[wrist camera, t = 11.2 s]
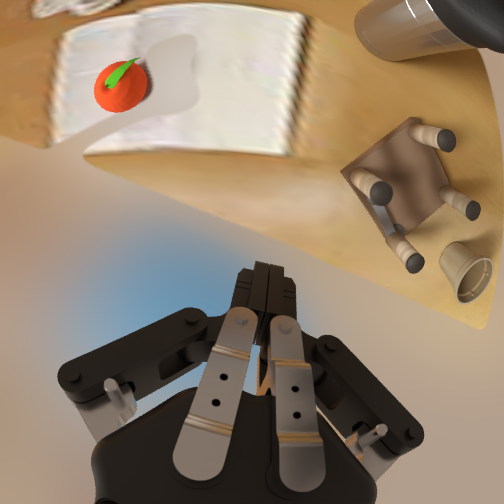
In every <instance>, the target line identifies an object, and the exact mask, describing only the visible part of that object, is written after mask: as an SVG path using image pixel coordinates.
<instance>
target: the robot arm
mask: <svg viewBox="0 0 504 504" xmlns="http://www.w3.org/2000/svg"><path fill="white" fill-rule="evenodd" d="M355 29H356V33H357V35H358V37H359V39H360V41H361V42H362V44H363V45H364V46H365V47H366V48H367V49H368V50H369V51H370V52H371V53H372V54H374V55H375V56H377V57H379V58H381V59H384V60H387V61H401V60H406V59H410V58H416V57H421V56H426V55H431V54H437V53H444V52H451V51H458V50H466V49H476V48H488V49H490V50H493V51H495V52H499V53H503V54H504V0H373V1H371V2H370V3H369V4H368V5H366V6H365V7H364V8H363V9H361V10H360V11H359V12H358V14H357V16H356V19H355ZM296 317H297V312H296V285H295V283H294V282H293V280H292V278H288V277H284V267H281V266H277V265H273V264H270V266H269V264H268V263H263V262H259V261H256V262H255V265H254V269H253V270H250V269H245V268H243V269H242V270H241V271H240V272H239V273H238V277H237V281H236V285H235V289H234V293H233V297H232V302H231V306H230V309H229V310H228V311H227V312H226V313H225V314H223V315H221V316H217V317H207V315H206V314H205V313H204V312H203V311H201V310H200V309H197V308H191V307H190V308H184V309H182V310H180V311H178V312H175V313H173V314H171V315H169V316H167V317H165V318H163V319H161V320H158V321H156V322H154V323H152V324H150V325H148V326H146V327H143V328H141V329H139V330H137V331H135V332H133V333H130V334H128V335H126V336H124V337H122V338H120V339H117V340H115V341H113V342H111V343H109V344H107V345H104V346H102V347H100V348H98V349H95V350H93V351H91V352H89V353H86V354H84V355H82V356H80V357H77V358H75V359H73V360H71V361H68V362H66V363H65V364H63V365H62V366H61V367H60V369H59V371H58V376H57V377H58V382H59V384H60V386H61V387H62V389H63V390H64V391H65V393H66V395H67V397H68V398H69V399H70V400H71V402H72V403H73V404H74V406H75V407H76V408H77V409H78V411H79V413H80V414H81V416H82V418H83V420H84V422H85V424H86V425H87V427H88V429H89V431H90V432H91V434H92V436H93V437H94V439H95V440H96V442H97V445H96V446H95V448H94V450H93V453H92V457H91V467H92V471H93V475H94V479H95V486H96V498H95V503H94V504H375V501H376V497H377V487H376V483H375V482H376V481H377V480H378V479H379V478H380V477H381V476H382V475H383V474H384V473H385V471H387V470H388V469H389V468H390V466H391V465H392V464H393V463H394V462H395V461H396V460H397V459H398V458H399V457H400V456H402V455H404V454H406V453H407V452H409V451H411V450H412V449H414V448H416V447H418V446H419V445H420V444H421V443H422V442H423V439H424V430H423V428H422V426H421V424H420V423H419V422H418V421H417V420H416V419H415V418H414V417H413V416H412V415H411V414H410V413H409V412H408V411H407V410H406V409H405V407H404V406H403V405H402V404H401V403H400V402H399V401H398V400H397V399H396V398H395V397H394V396H393V395H392V394H391V393H390V392H389V391H388V390H387V389H386V388H385V386H383V384H382V383H381V382H380V381H379V380H378V379H377V378H376V377H375V376H374V375H373V374H372V373H371V372H370V371H369V370H368V369H367V368H366V367H365V366H364V365H363V363H362V362H361V361H360V360H359V359H358V358H357V357H356V356H355V355H354V354H353V353H352V352H351V351H350V350H349V349H348V348H347V347H346V346H345V345H344V344H343V343H342V341H340V340H339V339H338V338H336V337H334V336H332V335H323V336H321V337H319V338H318V339H316V338H314V337H312V336H310V335H308V334H306V333H304V332H303V331H302V330H301V327H300V325H299V323H298V322H297V318H296ZM255 340H256V344H255V345H259V346H261V347H260V353H259V356H258V359H257V392H256V395H252V394H250V393H247V392H245V391H243V390H242V389H243V384H244V381H245V377H246V372H247V368H248V364H249V360H250V353H251V348H252V344H254V343H255ZM202 362H207V365H206V367H205V370H204V372H203V375H202V378H201V381H200V383H199V386H198V387H193V388H189V389H186V390H183V391H181V392H179V393H177V394H175V395H174V396H172V397H171V398H169V399H167V400H166V401H164V402H163V403H161V404H160V405H158V406H156V407H155V408H153V409H152V410H150V411H148V412H147V413H145V414H143V415H142V416H140V417H138V418H137V419H135V420H133V421H132V422H130V423H128V424H126V425H125V423H126V422H127V420H128V419H130V418H131V417H133V415H134V414H135V413H136V410H137V403H136V401H138V400H140V399H142V398H143V397H145V396H147V395H149V394H151V393H153V392H154V391H156V390H158V389H160V388H162V387H163V386H165V385H167V384H168V383H170V382H172V381H174V380H175V379H177V378H179V377H180V376H182V375H184V374H185V373H187V372H189V371H191V370H192V369H194V368H196V367H197V366H199V365H200V364H201V363H202ZM337 384H338V385H337ZM316 405H317V407H318V408H319V409H320V410H321V411H322V413H323V414H324V415H325V416H326V417H327V418H328V420H329V421H330V422H331V423H332V424H333V425H334V427H335V428H336V429H337V430H338V431H339V432H340V433H341V435H342V436H343V437H344V438H345V439H346V441H345V443H344V442H343V441H342V440H341V438H340V437H339V436H338V435H337V433H336V432H335V431H334V430H333V428H332V427H331V426H330V425H329V423H328V422H327V421H326V420H325V418H324V417H323V416H322V415H321V414H320V413H319V412H318V411H316ZM124 425H125V426H124Z"/></svg>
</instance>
